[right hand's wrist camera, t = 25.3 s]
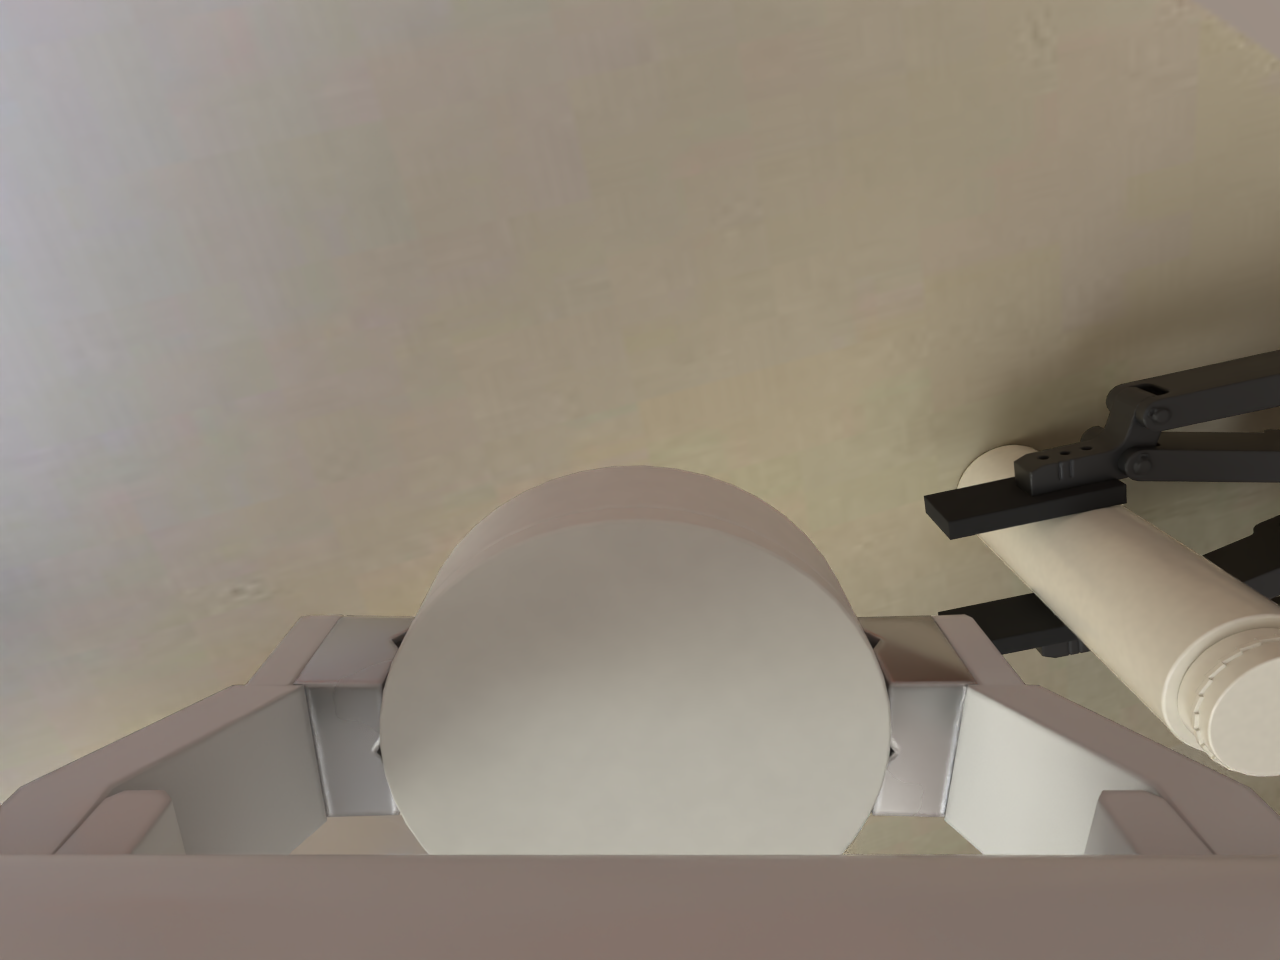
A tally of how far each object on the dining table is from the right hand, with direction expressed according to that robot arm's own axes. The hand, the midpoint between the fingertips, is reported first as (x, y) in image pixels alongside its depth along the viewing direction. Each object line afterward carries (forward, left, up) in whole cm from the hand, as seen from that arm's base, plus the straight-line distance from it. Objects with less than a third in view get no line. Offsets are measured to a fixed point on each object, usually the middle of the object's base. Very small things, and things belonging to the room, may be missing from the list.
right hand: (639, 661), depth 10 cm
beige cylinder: (-10, -16, -26) cm, 32 cm away
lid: (0, 0, +2) cm, 2 cm away
